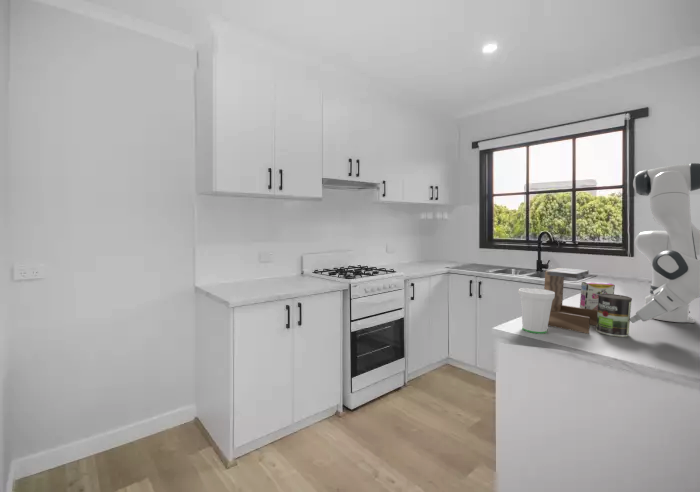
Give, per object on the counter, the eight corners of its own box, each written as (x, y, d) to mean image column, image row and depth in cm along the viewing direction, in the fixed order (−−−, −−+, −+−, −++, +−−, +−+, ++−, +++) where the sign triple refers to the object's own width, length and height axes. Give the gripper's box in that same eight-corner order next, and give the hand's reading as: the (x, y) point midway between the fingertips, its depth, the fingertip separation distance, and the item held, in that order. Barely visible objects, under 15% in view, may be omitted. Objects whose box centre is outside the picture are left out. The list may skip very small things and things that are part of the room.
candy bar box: (584, 321, 154) (587, 283, 153) (578, 318, 159) (580, 281, 158) (612, 322, 152) (615, 284, 151) (605, 319, 157) (608, 282, 156)
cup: (548, 327, 143) (551, 289, 142) (556, 336, 132) (558, 295, 131) (514, 324, 147) (516, 287, 146) (518, 333, 135) (520, 292, 134)
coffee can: (618, 338, 131) (621, 299, 130) (589, 330, 140) (592, 294, 140) (635, 335, 135) (638, 298, 134) (606, 327, 145) (609, 292, 144)
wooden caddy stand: (557, 317, 160) (559, 267, 159) (599, 325, 149) (602, 271, 147) (542, 324, 148) (545, 270, 146) (587, 333, 136) (591, 275, 135)
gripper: (664, 288, 135) (629, 309, 142) (656, 294, 120) (618, 318, 128) (679, 302, 132) (643, 323, 139) (673, 310, 117) (633, 333, 125)
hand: (631, 320), depth 134 cm, fingers closed, pressing on coffee can
